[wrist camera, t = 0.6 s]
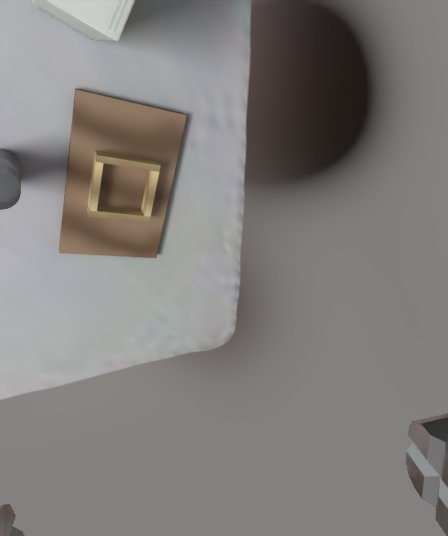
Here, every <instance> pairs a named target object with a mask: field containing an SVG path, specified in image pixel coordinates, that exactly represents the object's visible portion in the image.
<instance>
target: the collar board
mask: <svg viewBox="0 0 448 536" xmlns="http://www.w3.org/2000/svg"><path fill="white" fill-rule="evenodd" d="M186 117H187V115H185V114H182V113H178V112H173V111H169V110H165V109H161V108H156V107H152V106H148V105H143V104H139V103H135V102H131V101H126V100H122V99H118V98H114V97H109V96H105V95H101V94H96V93H92V92H88V91H84V90H79V89H75V98H74V108H73V118H72V127H71V137H70V147H69V157H68V167H67V177H66V186H65V196H64V206H63V216H62V226H61V236H60V245H59V252H60V253H70V254H89V255H108V256H127V257H146V258H156V257H157V252H158V247H159V243H160V238H161V233H162V229H163V224H164V219H165V215H166V210H167V205H168V201H169V196H170V191H171V187H172V182H173V177H174V173H175V168H176V163H177V159H178V154H179V149H180V145H181V140H182V135H183V131H184V126H185V121H186Z"/></svg>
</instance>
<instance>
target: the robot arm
mask: <svg viewBox="0 0 448 536" xmlns="http://www.w3.org/2000/svg"><path fill="white" fill-rule="evenodd" d="M408 436H409V437H410V438H411V440H412V441H413V444H412V445H411V446H410V447H409V449H408V450H407V451H406V466H407V470H408V473H409V477H410V479H411V481H412V483H413V485H414V488H415V489H416V491H417V492H418V494H419V495H420V497H421V498H422V499H423V500H425V501H426V502H428V503H430V504H431V505H433V506H435V507H436V521H437V522H438V524H439V525H440V527H441V528H442V529H443V531H444V533H445V534H446V535H447V536H448V413H447V414H443V415H438V416H433V417H429V418H424V419H420V420H415V421H412V423H411V424H410V426H409V432H408ZM15 517H16V516H15V513H14V511H13V509H12V508H11V506H10V504H4V505H0V536H24V533H23V532H22V531H21V530H19V529H17V528H15V527H13V523H14V520H15Z"/></svg>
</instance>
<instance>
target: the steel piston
mask: <svg viewBox="0 0 448 536" xmlns="http://www.w3.org/2000/svg"><path fill="white" fill-rule="evenodd" d="M20 194H21V175H20V163H19V161H18V159H17V158H16V157H15V156H14V155H13V154H12V153H10V152H9V151H6V150H3V149H0V210H2V209H7V208H10V207H12V206H14V205H15V204H16V203H17V202H18V200H19V198H20Z"/></svg>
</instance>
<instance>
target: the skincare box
mask: <svg viewBox="0 0 448 536" xmlns="http://www.w3.org/2000/svg"><path fill="white" fill-rule="evenodd" d="M32 3H33V5H34V6H35V7H37V8H39V9H40V10H42V11H43V12H45V13H47V14H48V15H50V16H51V17H53V18H55V19H56V20H58V21H60V22H61V23H63V24H65V25H66V26H68V27H70V28H72V29H73V30H75V31H77V32H78V33H80V34H82V35H84V36H85V37H87V38H89V39H91V40H106V41H119V39H120V36H121V34H122V32H123V29H124V27H125V24H126V22H127V20H128V17H129V15H130V12H131V10H132V7H133V5H134V3H135V0H33V1H32Z"/></svg>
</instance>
